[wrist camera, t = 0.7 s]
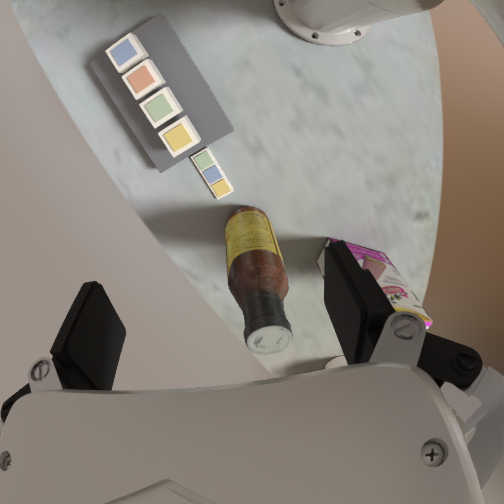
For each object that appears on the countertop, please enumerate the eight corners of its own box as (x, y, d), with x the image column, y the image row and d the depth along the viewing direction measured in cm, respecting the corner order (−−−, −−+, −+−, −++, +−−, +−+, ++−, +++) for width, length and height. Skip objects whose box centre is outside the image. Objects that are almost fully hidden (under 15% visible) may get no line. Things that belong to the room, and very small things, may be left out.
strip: (191, 156, 34) (190, 157, 34) (207, 146, 34) (207, 147, 33) (217, 198, 38) (217, 200, 37) (234, 189, 37) (234, 191, 37)
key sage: (147, 101, 28) (138, 104, 25) (171, 86, 28) (164, 87, 25) (162, 123, 30) (154, 129, 27) (185, 109, 29) (180, 112, 26)
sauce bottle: (215, 223, 40) (209, 338, 23) (251, 195, 38) (271, 299, 21) (246, 254, 43) (260, 370, 26) (281, 228, 41) (316, 339, 24)
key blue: (116, 53, 24) (104, 50, 21) (139, 36, 24) (129, 32, 21) (129, 72, 26) (118, 72, 23) (152, 57, 25) (143, 54, 22)
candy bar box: (385, 250, 44) (435, 321, 31) (371, 274, 47) (413, 348, 33) (327, 234, 42) (370, 313, 28) (314, 261, 44) (347, 344, 31)
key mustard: (164, 128, 30) (157, 133, 27) (188, 113, 30) (183, 117, 26) (178, 150, 32) (173, 158, 29) (202, 136, 31) (199, 142, 28)
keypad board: (96, 64, 26) (89, 63, 24) (164, 16, 24) (160, 13, 22) (163, 168, 35) (160, 173, 33) (233, 128, 33) (233, 130, 31)
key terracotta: (131, 76, 26) (120, 76, 23) (155, 60, 26) (146, 58, 23) (145, 97, 28) (135, 100, 25) (168, 82, 27) (161, 82, 24)
